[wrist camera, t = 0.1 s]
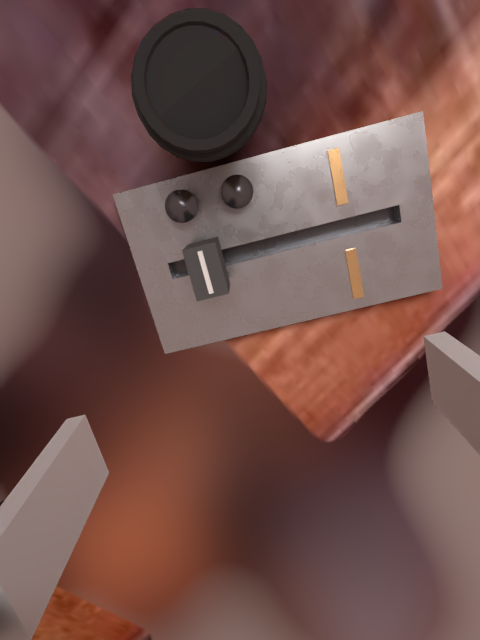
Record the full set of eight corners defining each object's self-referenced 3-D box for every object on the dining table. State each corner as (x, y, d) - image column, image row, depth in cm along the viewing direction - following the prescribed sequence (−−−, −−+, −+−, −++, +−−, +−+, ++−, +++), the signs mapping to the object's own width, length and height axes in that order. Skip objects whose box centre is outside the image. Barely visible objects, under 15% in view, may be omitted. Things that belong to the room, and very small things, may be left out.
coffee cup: (277, 132, 39) (297, 98, 24) (205, 188, 40) (186, 189, 26) (221, 48, 37) (209, -41, 22) (149, 111, 38) (93, 66, 24)
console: (120, 194, 40) (105, 195, 36) (411, 115, 38) (433, 106, 34) (169, 345, 45) (161, 361, 41) (431, 283, 43) (452, 293, 38)
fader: (191, 240, 41) (181, 250, 34) (219, 233, 40) (215, 242, 34) (203, 283, 42) (196, 302, 35) (231, 276, 42) (229, 294, 35)
